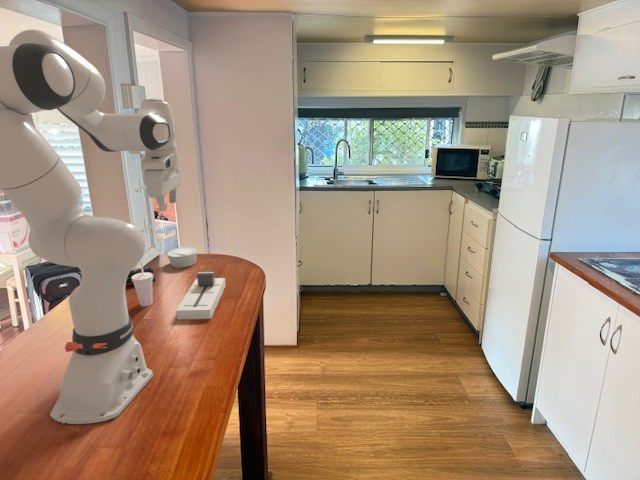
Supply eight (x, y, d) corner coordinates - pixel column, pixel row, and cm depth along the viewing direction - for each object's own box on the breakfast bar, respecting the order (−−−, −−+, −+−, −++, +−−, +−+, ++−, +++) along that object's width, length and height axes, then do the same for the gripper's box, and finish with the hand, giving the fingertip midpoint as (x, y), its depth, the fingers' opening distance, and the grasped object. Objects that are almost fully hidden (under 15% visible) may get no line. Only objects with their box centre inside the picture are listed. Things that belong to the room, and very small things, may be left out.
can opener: (155, 278, 159) (153, 263, 157) (156, 284, 153) (154, 270, 151) (101, 286, 152) (99, 271, 150) (101, 294, 146) (98, 278, 144)
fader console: (210, 318, 128) (210, 309, 127) (177, 319, 128) (175, 310, 127) (225, 285, 151) (225, 277, 150) (197, 286, 150) (196, 278, 150)
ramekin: (165, 269, 166) (163, 257, 164) (172, 259, 177) (171, 247, 175) (195, 268, 167) (193, 255, 165) (200, 258, 177) (199, 246, 176)
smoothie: (160, 299, 141) (154, 259, 136) (151, 308, 134) (145, 267, 130) (141, 299, 141) (135, 259, 137) (131, 307, 135) (125, 266, 131)
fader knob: (213, 285, 143) (212, 274, 141) (197, 285, 142) (196, 274, 141) (215, 282, 145) (214, 270, 144) (200, 282, 145) (198, 270, 144)
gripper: (163, 155, 133) (168, 198, 137) (138, 164, 113) (145, 215, 118) (183, 154, 133) (188, 198, 137) (162, 164, 113) (168, 214, 118)
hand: (168, 206), depth 127 cm, fingers open, 8 cm apart
